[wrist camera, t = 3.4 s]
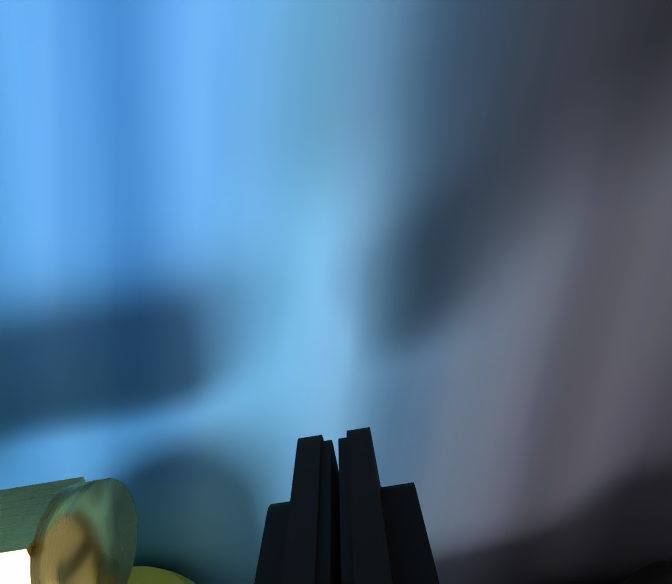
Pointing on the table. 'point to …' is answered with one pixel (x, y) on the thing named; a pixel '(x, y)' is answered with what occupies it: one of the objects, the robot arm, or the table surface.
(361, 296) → the table surface
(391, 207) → the table surface
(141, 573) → the cordless drill
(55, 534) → the brass capped square peg
